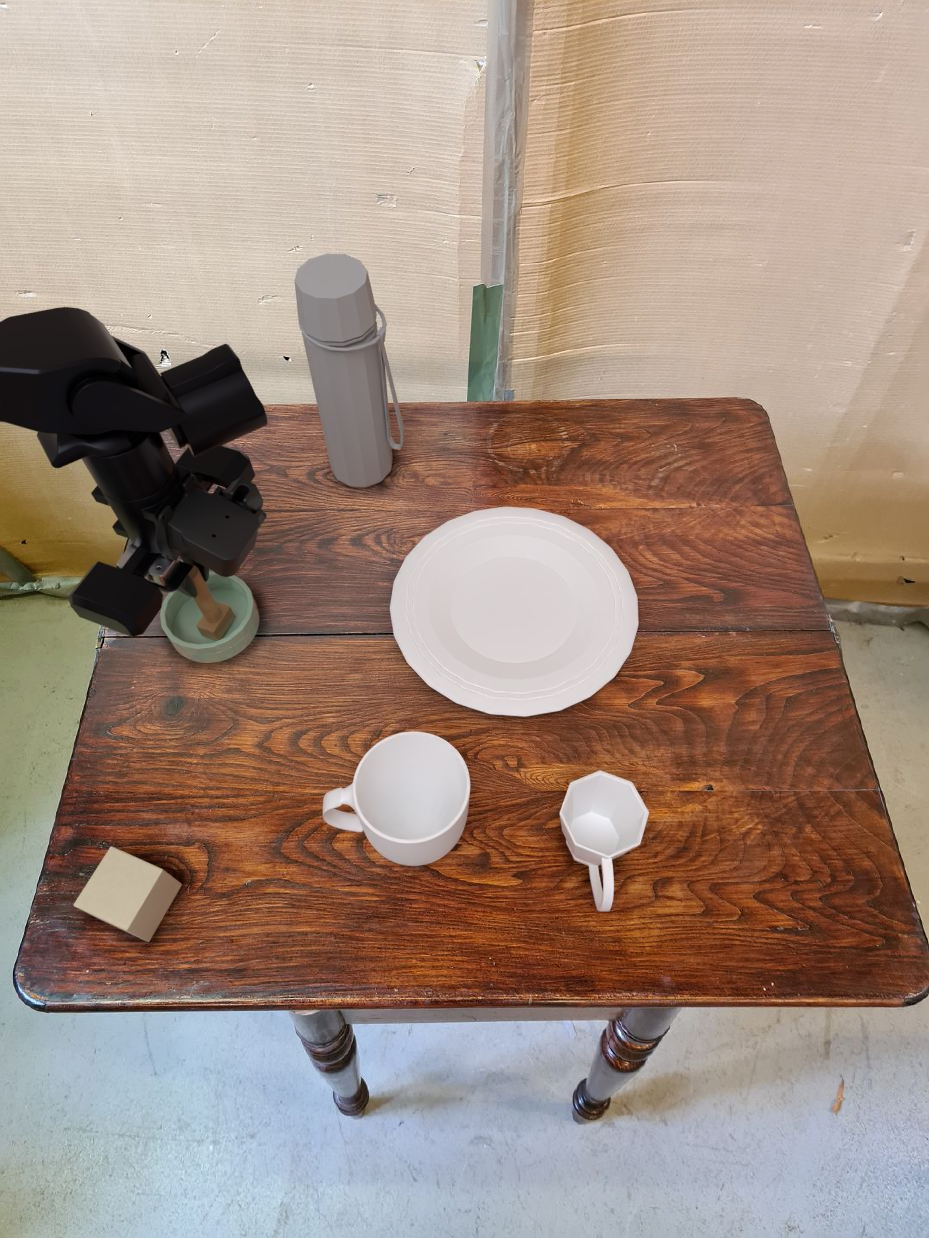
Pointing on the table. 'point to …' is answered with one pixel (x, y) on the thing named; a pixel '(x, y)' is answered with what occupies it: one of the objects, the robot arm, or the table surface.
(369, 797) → the mug
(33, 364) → the robot arm
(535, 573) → the plate
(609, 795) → the cup
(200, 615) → the bowl
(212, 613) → the stirring stick
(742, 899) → the table surface
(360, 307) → the water bottle
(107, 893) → the stick stand
